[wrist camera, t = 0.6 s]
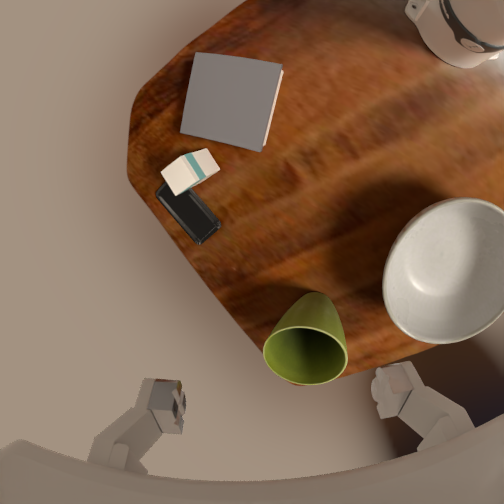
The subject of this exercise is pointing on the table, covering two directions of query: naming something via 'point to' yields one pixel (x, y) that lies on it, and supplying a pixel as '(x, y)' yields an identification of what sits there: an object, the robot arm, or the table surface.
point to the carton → (189, 170)
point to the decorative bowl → (447, 271)
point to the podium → (231, 99)
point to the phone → (189, 213)
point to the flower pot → (308, 342)
